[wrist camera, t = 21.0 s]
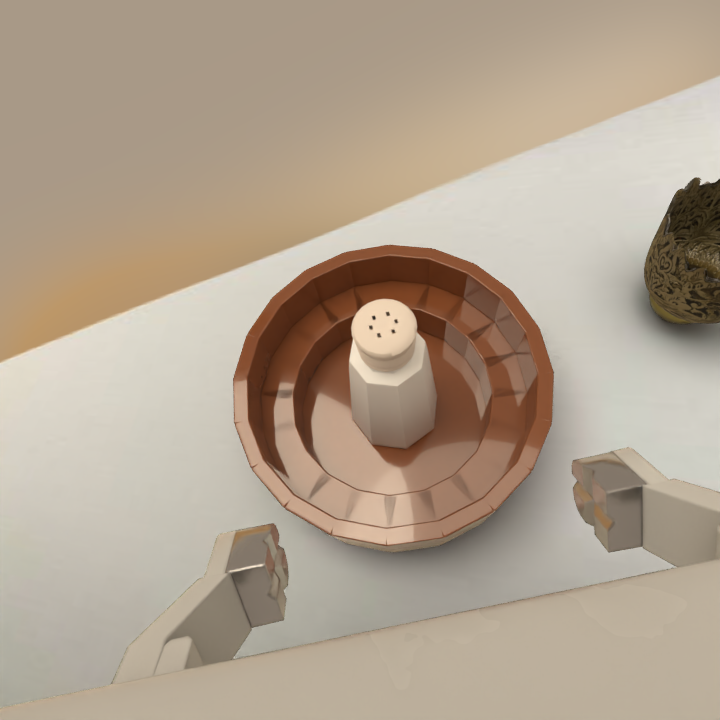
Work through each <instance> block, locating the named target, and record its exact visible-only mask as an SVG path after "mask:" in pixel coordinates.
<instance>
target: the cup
mask: <svg viewBox="0 0 720 720" xmlns="http://www.w3.org/2000/svg"><path fill="white" fill-rule="evenodd" d="M700 180H701V179H700V178H694V179H692V180H691V181H690V182H689V183H688V185H687V186H686V187H685V189H680V190H678V191H677V192H676V194H675V195H674V197H673V199H672V201H671V203H670V205H669V208H668V210H667V212H666V214H665V216H664V218H663V220H662V222H661V225H660V227H659V229H658V231H657V233H656V235H655V237H654V239H653V241H652V244H651V246H650V249H649V252H648V254H647V258H646V262H645V268H644V277H645V283H646V286H647V289H648V291H649V299H650V304H651V307H652V308H653V310H654V311H655V313H656V314H657V315H658V316H660V317H661V318H662V319H664V320H666V321H668V322H671V323H675V324H691V323H706V324H708V323H718V322H720V179H719V180H718V181H717V182H715V183H710V182H706V183H704V184H703V185H699V184H700Z"/></svg>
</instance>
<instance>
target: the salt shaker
mask: <svg viewBox="0 0 720 720" xmlns="http://www.w3.org/2000/svg"><path fill="white" fill-rule="evenodd" d="M351 332H352V337H353V342H352V347H351V353H350V358H349V377H350V392H351V407H352V419H353V420H354V421H355V423H356V424H357V425H358V427H359V428H360V429H361V431H362V432H363V433H364V435H365V436H366V437H367V439H368V440H369V441H370V443H371V444H372V445H379V446H386V447H394V448H401V449H407V448H409V447H410V446H411V445H413V444H414V443H415V442H417V441H418V440H419V439H421V438H422V437H423V436H425V435H426V434H427V433H428V432H430V431H431V430H432V429H434V420H435V411H436V402H437V394H436V389H435V384H434V379H433V374H432V369H431V364H430V359H429V354H428V349H427V345H426V342H425V340H424V339H423V338H422V337H421V336H420V335H419V334H418V333H417V322H416V318H415V316H414V314H413V312H412V311H411V310H410V309H409V308H408V306H406V305H404V304H403V303H401V302H399V301H396V300H393V299H379V300H374V301H372V302H369V303H367V304H366V305H364V306H363V307H361V309H360V310H359V311H358V312H357V313H356V315H355V317H354V319H353V321H352V326H351Z"/></svg>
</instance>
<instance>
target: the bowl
mask: <svg viewBox="0 0 720 720" xmlns="http://www.w3.org/2000/svg"><path fill="white" fill-rule="evenodd" d="M379 299H393V300H396V301H399V302H401V303H403V304H404V305H406V306H408V308H409V309H410V310H411V311H412V312H413V314H414V316H415V318H416V322H417V333H418V334H419V335H420V336H421V337H422V338H423V339H424V340H425V342H426V345H427V349H428V354H429V359H430V364H431V369H432V374H433V379H434V384H435V389H436V394H437V402H436V411H435V420H434V429H432V430H431V431H430V432H428V433H427V434H426V435H425V436H423V437H422V438H421V439H419V440H418V441H417V442H415V443H414V444H413V445H411V446H410V447H409V448H407V449H401V448H394V447H386V446H379V445H372V444H371V443H370V441H369V440H368V439H367V437H366V436H365V435H364V433H363V432H362V431H361V429H360V428H359V427H358V425H357V424H356V423H355V421H354V420H353V419H352V407H351V392H350V377H349V358H350V353H351V347H352V342H353V337H352V332H351V326H352V321H353V319H354V317H355V315H356V313H357V312H358V311H359V310H360V309H361V307H363V306H364V305H366V304H367V303H369V302H372V301H374V300H379ZM553 373H554V372H553V369H552V366H551V363H550V360H549V356H548V353H547V350H546V347H545V344H544V341H543V338H542V335H541V331H540V329H539V327H538V325H537V324H536V323H535V321H534V320H533V319H532V317H531V316H530V315H529V313H528V312H527V311H526V309H525V308H524V307H523V305H522V304H521V302H520V301H519V300H518V298H517V297H516V296H515V294H514V293H513V292H512V291H511V290H510V289H509V288H507V287H506V286H505V285H503V284H502V283H500V282H499V281H498V280H496V279H495V278H494V277H492V276H491V275H490V274H488V273H487V272H485V271H484V270H483V269H481V268H480V267H479V266H477V265H476V264H474V263H471V262H468V261H466V260H463V259H460V258H457V257H455V256H452V255H449V254H446V253H444V252H441V251H438V250H436V249H432V248H420V247H409V246H397V245H384V246H378V247H373V248H367V249H361V250H355V251H349V252H346V253H345V252H344V253H342V254H340V255H338V256H336V257H333V258H331V259H329V260H327V261H325V262H322V263H320V264H318V265H316V266H314V267H311V268H309V269H307V270H306V271H304V272H303V273H301V274H300V275H299V276H298V277H296V278H295V279H294V280H293V281H292V282H290V283H289V284H288V285H287V286H286V287H284V288H283V289H282V290H281V291H280V292H278V293H277V294H276V295H275V296H274V297H272V299H271V300H270V302H269V303H268V304H267V306H266V307H265V309H264V310H263V312H262V313H261V315H260V316H259V318H258V319H257V321H256V322H255V323H254V325H253V326H252V328H251V329H250V331H249V332H248V334H247V336H246V339H245V342H244V345H243V349H242V352H241V355H240V358H239V362H238V365H237V368H236V371H235V375H234V378H233V388H234V423H235V427H236V429H237V432H238V435H239V438H240V440H241V443H242V446H243V448H244V451H245V454H246V456H247V459H248V462H249V464H250V467H251V468H252V471H253V472H254V473H255V474H256V475H257V477H258V478H259V479H260V480H261V481H262V483H263V484H264V485H265V486H266V487H267V488H268V490H269V491H270V492H271V493H272V494H273V496H274V497H275V498H276V499H277V500H278V502H279V503H280V504H281V505H282V506H283V507H284V508H285V509H286V510H288V511H290V512H291V513H293V514H295V515H296V516H298V517H300V518H302V519H303V520H305V521H307V522H308V523H310V524H312V525H314V526H315V527H317V528H319V529H320V530H322V531H324V532H326V533H327V534H329V535H331V536H333V537H335V538H336V539H338V540H340V541H342V542H344V543H347V544H350V545H356V546H361V547H366V548H371V549H376V550H381V551H386V552H393V553H394V552H401V551H408V550H415V549H421V548H428V547H435V546H439V545H442V544H444V543H446V542H448V541H450V540H452V539H454V538H456V537H457V536H459V535H461V534H463V533H465V532H467V531H469V530H471V529H473V528H475V527H477V526H479V525H480V524H482V523H483V522H484V521H485V520H486V519H487V518H488V517H490V516H491V515H492V514H493V513H494V512H495V511H496V510H497V509H498V508H499V507H500V506H501V505H502V504H503V502H504V501H505V500H506V499H507V498H508V497H509V496H510V495H511V494H512V493H513V492H514V491H515V489H516V488H517V487H518V486H519V485H520V484H521V483H522V482H523V481H524V480H525V479H526V478H527V476H528V475H529V474H530V473H531V471H532V470H533V468H534V466H535V463H536V461H537V458H538V456H539V454H540V451H541V449H542V446H543V444H544V442H545V439H546V437H547V434H548V432H549V429H550V427H551V425H552V423H551V422H552V410H553V382H554V375H553Z"/></svg>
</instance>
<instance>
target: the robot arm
mask: <svg viewBox="0 0 720 720" xmlns="http://www.w3.org/2000/svg"><path fill="white" fill-rule="evenodd" d="M572 474H573V475H574V477H575V478H576V479H577V480H578V481H577V482H576V484H575V486H574V487H573V492H574V500H575V503H576V506H577V509H578V511H579V513H580V515H581V517H582V518H583V519H584V521H585V522H586V523H587V524H590V525H592V526H594V530H595V535H596V537H597V538H598V539H599V541H600V542H601V543H602V545H603V546H604V547H605V549H606V550H607V551H608V552H615V551H620V550H626V549H631V548H637V547H643V548H644V549H645V550H647V551H649V552H651V553H653V554H655V555H656V556H658V557H660V558H662V559H664V560H665V561H667V562H669V563H671V564H673V565H675V566H676V568H671V569H667V570H662V571H657V572H652V573H647V574H642V575H638V576H633V577H628V578H623V579H618V580H614V581H609V582H604V583H599V584H594V585H590V586H585V587H580V588H575V589H570V590H566V591H561V592H556V593H551V594H546V595H541V596H537V597H532V598H527V599H522V600H517V601H513V602H508V603H503V604H498V605H493V606H488V607H484V608H479V609H474V610H469V611H464V612H460V613H455V614H450V615H445V616H440V617H435V618H431V619H426V620H421V621H416V622H411V623H406V624H402V625H397V626H392V627H387V628H382V629H378V630H373V631H368V632H363V633H358V634H353V635H349V636H344V637H339V638H334V639H329V640H324V641H320V642H315V643H310V644H305V645H300V646H296V647H291V648H286V649H281V650H276V651H271V652H267V653H262V654H257V655H252V656H247V657H242V658H238V659H233V657H234V656H235V654H236V653H237V651H238V650H239V648H240V647H241V645H242V644H243V642H244V641H245V639H246V638H247V636H248V635H249V633H250V632H251V630H252V629H251V628H253V627H258V626H262V625H266V624H270V623H274V622H279V621H283V620H284V616H285V607H286V596H285V593H284V589H285V588H286V587H287V586H288V577H289V576H288V564H287V559H286V555H285V552H284V549H283V548H282V547H280V546H279V545H278V542H279V533H278V531H277V528H276V526H275V525H274V524H267V525H262V526H257V527H251V528H246V529H241V530H238V531H231V532H226V533H221V534H219V535H218V536H217V538H216V541H215V544H214V547H213V550H212V554H211V557H210V560H209V563H208V566H207V569H206V572H205V575H204V578H200V579H198V580H197V581H196V582H195V583H194V584H193V585H192V586H191V587H189V588H188V589H187V590H186V591H185V592H184V593H183V594H182V595H181V596H180V597H179V598H178V599H177V600H176V601H175V602H174V603H173V604H172V605H171V606H170V607H169V608H168V609H167V610H166V611H164V612H163V613H162V614H161V615H160V616H159V617H158V618H157V619H156V620H155V621H154V622H153V623H152V624H151V625H150V626H149V627H148V628H147V629H146V630H145V631H144V632H143V633H142V634H141V635H140V636H138V637H137V638H136V639H135V640H134V641H133V642H132V643H131V644H130V645H129V646H128V647H127V649H126V652H125V654H124V656H123V658H122V661H121V663H120V665H119V668H118V670H117V672H116V674H115V677H114V679H113V681H112V683H111V685H108V686H103V687H98V688H93V689H88V690H83V691H79V692H74V693H69V694H64V695H59V696H55V697H50V698H45V699H40V700H35V701H30V702H26V703H21V704H16V705H11V706H6V707H2V708H0V720H720V492H717V491H713V490H710V489H707V488H704V487H700V486H697V485H694V484H690V483H687V482H684V481H681V480H677V479H671V480H669V479H667V478H666V477H665V476H664V475H663V474H662V473H660V472H659V471H658V470H657V469H656V468H655V467H653V466H652V465H651V464H650V463H649V462H648V461H646V460H645V459H644V458H643V457H642V456H641V455H640V454H638V453H637V452H636V451H635V450H634V449H632V448H629V447H627V448H623V449H619V450H615V451H611V452H609V453H604V454H600V455H595V456H591V457H586V458H582V459H577V460H573V462H572ZM232 659H233V660H232Z"/></svg>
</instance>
